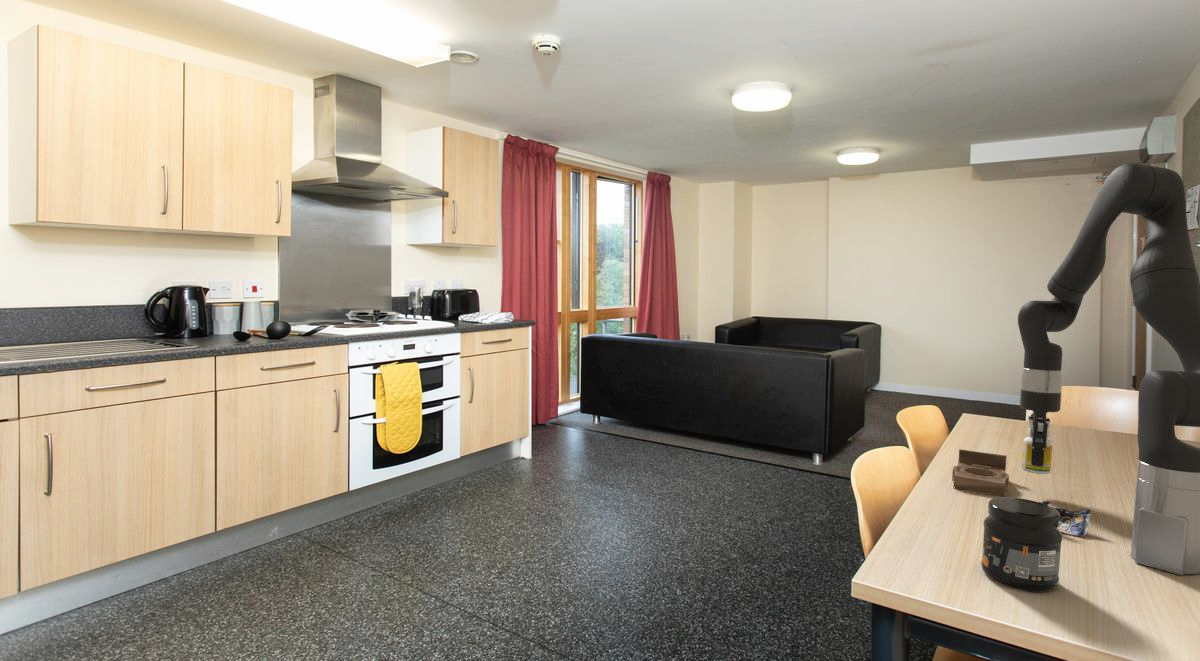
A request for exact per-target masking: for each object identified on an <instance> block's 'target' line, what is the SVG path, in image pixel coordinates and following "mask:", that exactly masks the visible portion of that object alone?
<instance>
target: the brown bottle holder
mask: <svg viewBox="0 0 1200 661" xmlns="http://www.w3.org/2000/svg"><path fill="white" fill-rule="evenodd" d="M1006 470H1007V455H1004V454H996V453H989V452H982V451H974V450H967V449H962V448H961V449H960V448H959V449H958V462H957V465H954V466H953V467H952V472H951V473H952V474H951V475H952V476H951V482H952V481H954V483H953V488H954V487H955V488H960V489H959V490H961V489H965V490H964V491H967V490H969V491H970V492H974V493H980V494H981V493H982V494H986V495H991V496H992V495H993V496H998V497H1005V492H1007V491H1009V482H1010V481H1009V480H1010V474H1008V472H1007V471H1006ZM1006 472H1007V473H1006ZM955 488H954V489H955ZM969 491H968V492H969Z"/></svg>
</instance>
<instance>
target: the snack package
mask: <svg viewBox="0 0 1200 661" xmlns="http://www.w3.org/2000/svg"><path fill="white" fill-rule="evenodd" d="M1038 502H1039V503H1042V504H1045V505H1048V506H1050V507H1052V508H1054V509H1056V510H1057V511H1058V512H1059V514H1060V522H1059V527H1057V528H1058V529H1061V530H1064V531H1065V532H1063V531H1061V530H1060V532H1061V533H1063V534H1065V535H1069V536H1072V535H1073V536H1074V537H1075V536H1077V537H1080V538H1084V537H1085V536H1086V534H1087V533H1088V531H1089V529H1090V524H1091V522H1090V521H1091V517H1092V511H1091V509H1089V508H1082V509H1077V510H1068V509H1067V508H1063V506H1065V504H1062V505H1061V506H1062V507H1054V506H1051V503H1052V502H1051V501H1049V500H1043V501H1038ZM1071 533H1072V534H1071Z"/></svg>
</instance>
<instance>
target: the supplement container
mask: <svg viewBox="0 0 1200 661" xmlns="http://www.w3.org/2000/svg"><path fill="white" fill-rule="evenodd" d="M1039 502H1040V501H1034V500H1030V499H1026V498H1020V497H1019V498H1018V497H1012V496H1011V497H1009V496H1004V497H1003V496H998V497H994V498H991V499H990V500H989V501H988V502H987V504H988V506H987V508H988V509H987V513H988V515H987V516H986V517H985V518H984V520H983V527H984V528H983V542H982V555H981V556H982V557H981V561H980V562H981V565H980V566H981V568H982V571H983V572H984V574H985V575H987V576H988V577H989V578H990V579H991V580H993V581H995V582H996V583H998V584H1000V585H1002V586H1006V587H1008V588H1012V589H1015V590H1019V591H1024V592H1031V593H1032V592H1034V593H1043V592H1044V593H1045V592H1049V591H1052V590H1054V589H1056V588H1057V587H1058V585H1059V582H1060V577H1059V576H1060V575H1059V574H1060V564H1061V563H1060V562H1061V561H1060V560H1061V548H1062V541H1063V534H1062V533H1063V532H1062V531H1061V530H1060V528H1058V527H1059V522H1060V514H1059V512H1058V511H1057V510H1056V509H1054V508H1055V507H1054V508H1052V507H1053V506H1051V505H1045V504H1042V503H1039ZM1050 506H1051V507H1050ZM1060 531H1061V532H1060Z"/></svg>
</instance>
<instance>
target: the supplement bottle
mask: <svg viewBox="0 0 1200 661" xmlns="http://www.w3.org/2000/svg"><path fill="white" fill-rule="evenodd" d="M1027 435H1028V436H1026V437H1025V438H1024V439H1023V443H1022V460H1021V469H1022V471H1024V472H1028V473H1031V474H1036V475H1049V474H1050V473H1051V469H1052V468H1051V467H1052V452H1053V442H1052V441H1051V440H1050V439H1049V437H1050V431H1049V432H1048V439H1047V440H1046V445H1047V447H1046V449H1045V450H1044V463H1043V466H1034V465H1032V464H1031V459H1032V447H1031V445H1032V439H1031V438H1030V437H1029V435H1030V428H1029V427H1028V428H1027ZM1035 442H1039V443H1043V441H1042V440H1041V439H1035Z"/></svg>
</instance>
